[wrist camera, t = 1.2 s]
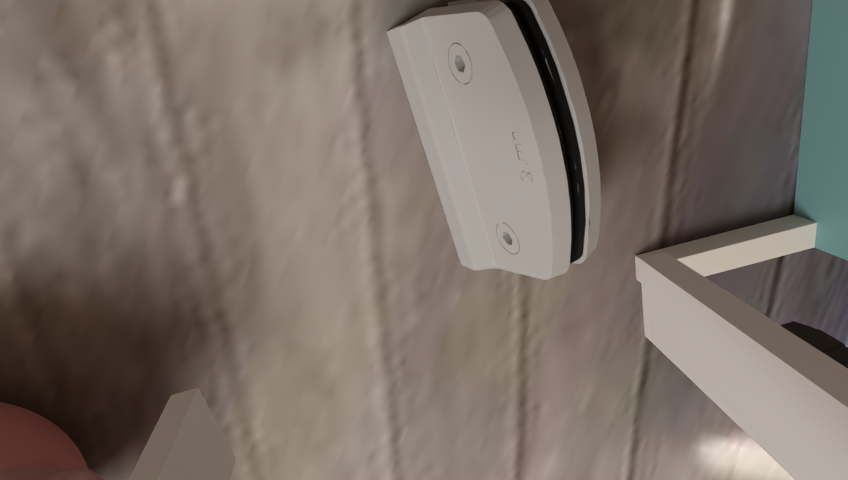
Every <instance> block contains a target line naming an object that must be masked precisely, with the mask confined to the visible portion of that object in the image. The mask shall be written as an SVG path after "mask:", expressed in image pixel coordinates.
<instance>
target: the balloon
mask: <svg viewBox="0 0 848 480" xmlns="http://www.w3.org/2000/svg"><path fill="white" fill-rule="evenodd" d="M0 480H103V479H102V478H101V477H100V476H99V475H98V474H97V473H95V472H93V471H91V470H89V469H88V467H87V464H86V462H85V460H84V458H83V456H82V454H81V452H80V451H79V449H78V448H77V446H76V445H75V443H74V442H73V441H72V440H71V439H70V438H69V436H68V435H67V434H66V433H65V432H64V431H63V430H61V429H60V428H59V427H58V426H56V425H55V424H54V423H52V422H51V421H49V420H48V419H46V418H44V417H43V416H41V415H39V414H37V413H34V412H32V411H30V410H27V409H25V408H22V407H19V406H16V405H12V404H7V403H3V402H0Z"/></svg>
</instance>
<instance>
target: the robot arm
mask: <svg viewBox="0 0 848 480" xmlns="http://www.w3.org/2000/svg"><path fill="white" fill-rule="evenodd" d="M640 269H641V284H642V299H643V314H644V329H645V336H646V337H647V338H648V339H649V340H650V341H651V342H652V343H653V344H654V345H655V346H656V347H657V348H659V349H660V350H661V351H662V352H663V353H664V354H665V355H666V356H667V357H668V358H669V359H670V360H671V361H672V362H673V363H674V364H675V365H676V366H677V367H678V368H679V369H680V370H681V371H682V372H683V373H685V374H686V375H687V376H688V377H689V378H690V379H691V380H692V381H693V382H694V383H695V384H696V385H697V386H698V387H699V388H700V389H701V390H702V391H703V392H704V393H705V394H706V395H707V396H708V397H710V398H711V399H712V400H713V401H714V402H715V403H716V404H717V405H718V406H719V407H720V408H721V409H722V410H723V411H724V412H725V413H726V414H727V415H728V416H729V417H730V418H731V419H732V420H733V421H735V422H736V423H737V424H738V425H739V426H740V427H741V428H742V429H743V430H744V431H745V432H746V433H747V434H748V435H749V436H750V437H751V438H752V439H753V440H754V441H755V442H756V443H757V444H758V445H760V446H761V447H762V448H763V449H764V450H765V451H766V452H767V453H768V454H769V455H770V456H771V457H772V458H773V459H774V460H775V461H776V462H777V463H778V464H779V465H780V466H781V467H782V468H783V469H785V470H786V471H787V472H788V473H789V474H790V475H791V476H792V477H793V478H794V479H795V480H848V347H847V348H846V347H845V345H844V344H843V343H842V342H840V341H838V340H836V339H835V338H833V337H831V336H830V335H828V334H826V333H825V332H823V331H821V330H818V329H815V328H812V327H809V326H806V325H803V324H800V323H797V322H794V321H793V322H790V323H787V324H783V325H779V324H777V323H775V322H774V321H772V320H771V319H769V318H768V317H766V316H765V315H763V314H761V313H760V312H758V311H757V310H755V309H754V308H752V307H750V306H749V305H747V304H746V303H744V302H743V301H741V300H739V299H738V298H736V297H735V296H733V295H732V294H730V293H729V292H727V291H725V290H724V289H722V288H721V287H719V286H718V285H716V284H714V283H713V282H711V281H710V280H708V279H707V278H705V277H703V276H702V275H700V274H699V273H697V272H696V271H694V270H693V269H691V268H689V267H688V266H686V265H685V264H683V263H682V262H680V261H678V260H677V259H675V258H674V257H672V256H671V255H669V254H667V253H666V252H661V253H658V254H654V255H651V256H647V257H644V258H640ZM235 459H236V457H235V455H234V453H233V452H232V450H231V448H230V446H229V444H228V442H227V440H226V439H225V437H224V435H223V433H222V431H221V429H220V427H219V426H218V424H217V422H216V420H215V418H214V416H213V414H212V413H211V411H210V409H209V407H208V405H207V403H206V401H205V399H204V398H203V396H202V394H201V392H200V390H199V388H198V387H197V388H194V389H191V390H187V391H184V392H180V393H177V394H173V395H171V396H170V398H169V400H168V402H167V404H166V406H165V408H164V410H163V412H162V414H161V416H160V418H159V420H158V422H157V424H156V426H155V428H154V430H153V432H152V434H151V436H150V438H149V440H148V442H147V444H146V446H145V448H144V450H143V452H142V454H141V456H140V458H139V460H138V462H137V464H136V466H135V468H134V470H133V472H132V474H131V476H130V478H129V480H230V478H231V475H232V471H233V467H234V463H235Z"/></svg>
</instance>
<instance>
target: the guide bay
mask: <svg viewBox="0 0 848 480" xmlns="http://www.w3.org/2000/svg"><path fill="white" fill-rule="evenodd" d="M814 247H815V248H817V249H820V250H822V251H825V252H827V253H830V254H833V255H835V256H838V257H840V258H843V259H845V260H848V0H813V1H812V12H811V24H810V35H809V46H808V57H807V69H806V80H805V91H804V102H803V113H802V125H801V136H800V147H799V158H798V170H797V181H796V192H795V203H794V214H793V215H790V216H786V217H782V218H778V219H774V220H771V221H767V222H763V223H759V224H755V225H751V226H747V227H744V228H740V229H736V230H732V231H728V232H724V233H720V234H717V235H713V236H709V237H705V238H701V239H697V240H693V241H690V242H686V243H682V244H678V245H674V246H670V247H666V248H663V249H659V250H655V251H651V252H647V253H643V254H639V255H636V256H635V265H636V279H637V280H638V281H639V282H641V269H640V258H644V257H647V256H651V255H654V254H658V253H661V252H666V253H667V254H669V255H671V256H672V257H674V258H675V259H677V260H678V261H680V262H682V263H683V264H685V265H686V266H688V267H689V268H691V269H693V270H694V271H696V272H697V273H699V274H700V275H702V276H703V277H704V276H708V275H712V274H716V273H720V272H723V271H727V270H731V269H735V268H738V267H742V266H746V265H750V264H753V263H757V262H761V261H765V260H769V259H772V258H776V257H780V256H784V255H787V254H791V253H795V252H799V251H802V250H806V249H810V248H814Z"/></svg>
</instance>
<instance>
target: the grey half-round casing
mask: <svg viewBox="0 0 848 480" xmlns="http://www.w3.org/2000/svg"><path fill="white" fill-rule="evenodd" d="M387 35H388V38H389V41H390V44H391V47H392V50H393V53H394V57H395V60H396V63H397V66H398V69H399V72H400V75H401V78H402V82H403V85H404V88H405V91H406V94H407V97H408V100H409V103H410V106H411V110H412V113H413V116H414V119H415V122H416V125H417V128H418V131H419V134H420V138H421V141H422V144H423V147H424V150H425V153H426V156H427V159H428V162H429V166H430V169H431V172H432V175H433V178H434V181H435V184H436V187H437V191H438V194H439V197H440V200H441V203H442V206H443V209H444V212H445V215H446V219H447V222H448V225H449V228H450V231H451V234H452V237H453V240H454V243H455V247H456V250H457V253H458V256H459V259H460V262H461V265H463V266H466V267H468V268H470V269H472V270H484V269H490V268H499V269H503V270H507V271H511V272H515V273H519V274H523V275H527V276H531V277H535V278H539V279H543V280H547V279H550V278H553V277H556V276H559V275H561V274H564V273H566V272H567V271H568V269H569V265H570V263H576V264H578V263H582V262H583V261H584V260H585V259H586V258H587V257H588V256H589V255H590V254H591V253H592V252H593V251H594V250H595V248H596V247H597V242H598V236H599V230H600V216H601V184H600V169H599V160H598V152H597V146H596V139H595V133H594V129H593V124H592V119H591V115H590V110H589V106H588V103H587V99H586V95H585V91H584V88H583V85H582V81H581V78H580V75H579V72H578V69H577V66H576V63H575V60H574V57H573V55H572V52H571V49H570V46H569V44H568V42H567V39H566V37H565V35H564V32H563V30H562V28H561V25H560V23H559V21H558V19H557V17H556V15H555V13H554V11H553V9H552V6H551V4H550V2H549V0H462V1H455V2H448V6H445V7H438V8H430V9H427V10H426V11H424V12H422V13H420V14H419V15H417V16H415V17H414V18H412V19H410V20H409V21H407V22H405V23H403V24H401V25H399V26H396V27H394V28H392V29H390V30H389V31H387Z"/></svg>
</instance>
